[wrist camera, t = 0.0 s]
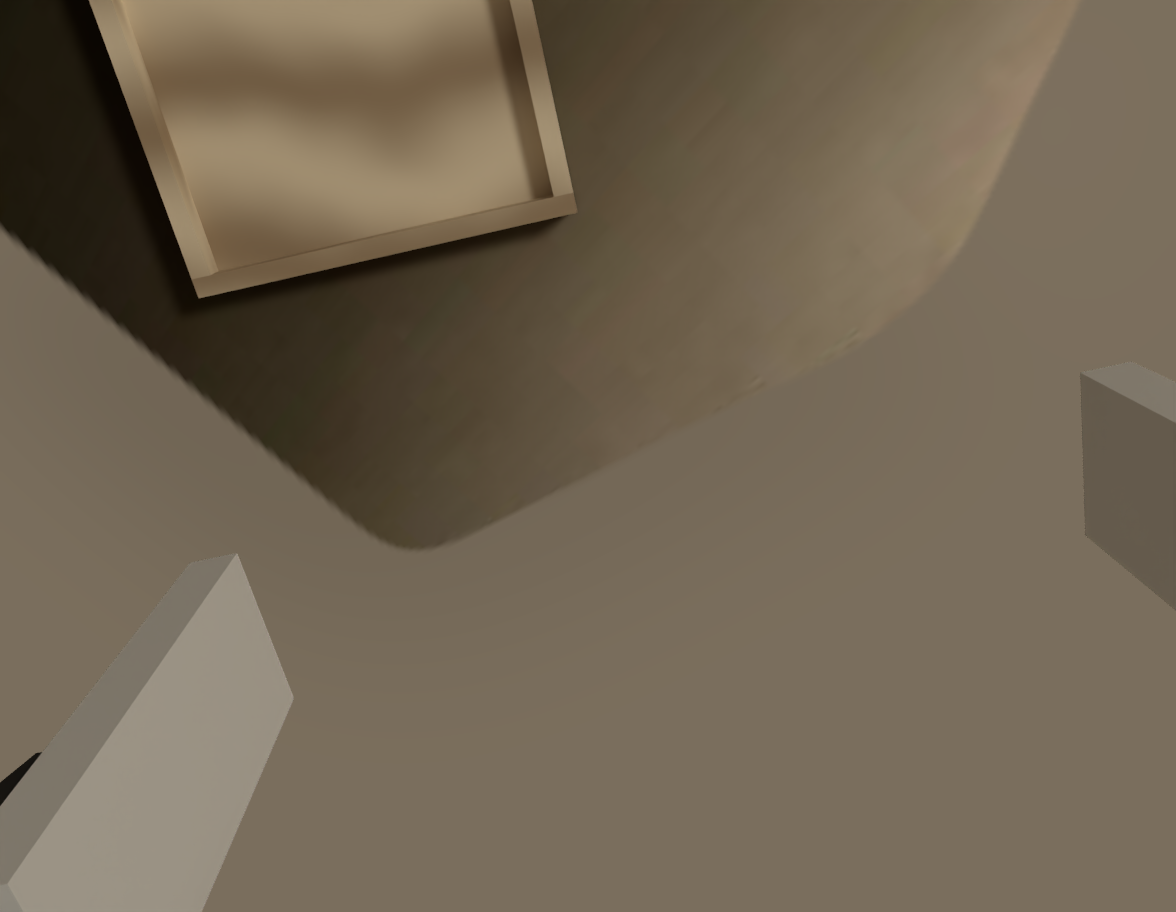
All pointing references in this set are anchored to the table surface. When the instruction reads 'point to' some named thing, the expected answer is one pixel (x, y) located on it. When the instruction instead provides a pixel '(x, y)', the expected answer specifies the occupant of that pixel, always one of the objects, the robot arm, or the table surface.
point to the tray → (336, 127)
